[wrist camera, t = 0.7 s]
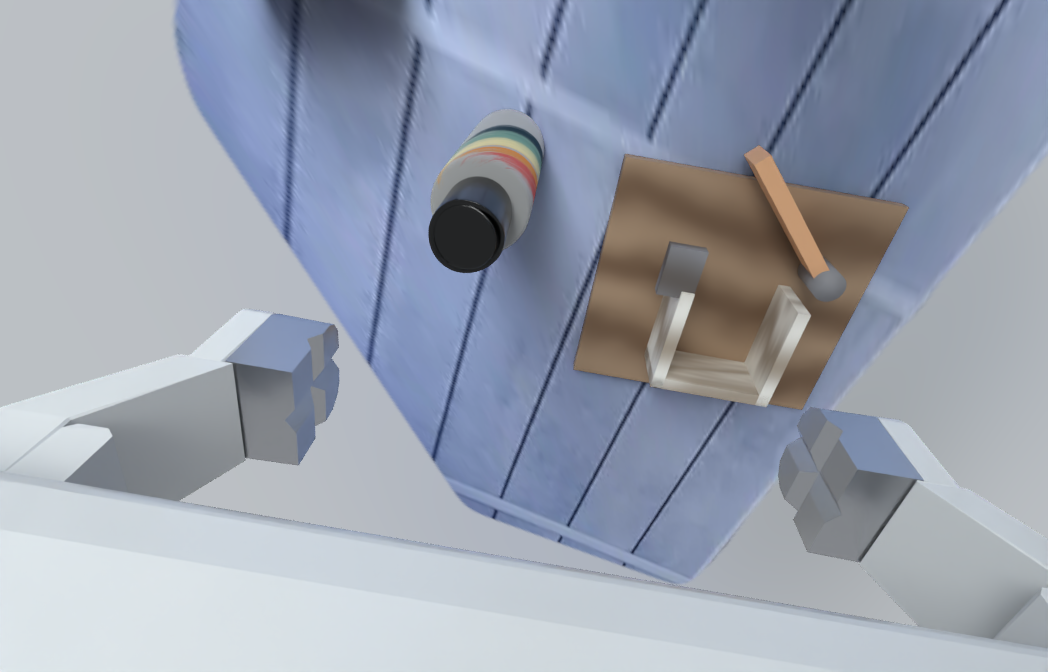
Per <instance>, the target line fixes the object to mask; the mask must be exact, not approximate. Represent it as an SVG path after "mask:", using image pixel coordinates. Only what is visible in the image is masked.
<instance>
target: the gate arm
mask: <svg viewBox="0 0 1048 672" xmlns="http://www.w3.org/2000/svg"><path fill="white" fill-rule="evenodd" d="M744 156H745V158H746V160H747V162H748V164H749V166H750V168H751V169H752V171H753V173H754V175H755V177H756V179H757V181H758V183H759V185H760V186H761V188H762V190H763V192H764V194H765V196H766V198H767V200H768V202H769V203H770V205H771V207H772V209H773V211H774V213H775V215H776V217H777V219H778V220H779V222H780V224H781V226H782V228H783V230H784V232H785V234H786V236H787V237H788V239H789V241H790V243H791V245H792V247H793V249H794V251H795V253H796V255H797V256H798V258H799V260H800V262H801V263H800V265H799V267H798V276H799V277H800V279H801V280H802V281H803V282H804V284H805V285H806V286H807V288H808V289H809V290H810V291H811V293H812V294H813V295H814V297H815V298H816V299H818V300H820V301H823V302H829V301H833V300H835V299H837V298H839V297H840V296H841V295H842V294H843V293H844V291H845V289H846V285H847V284H846V280H845V278H844V277H843V276H842V275H841V274H840V273H839V272H838V271H837V270H836V268H835V267H834V266H833V265H832V264H831V263H830V262H829V261H828V260H827V259H826V258H825V257H823V256H822V254H821V253H820V251H819V249H818V247H817V245H816V243H815V241H814V239H813V237H812V235H811V233H810V231H809V229H808V227H807V225H806V223H805V221H804V219H803V217H802V215H801V213H800V211H799V209H798V207H797V205H796V203H795V201H794V199H793V197H792V195H791V193H790V191H789V189H788V187H787V185H786V184H785V182H784V180H783V178H782V176H781V174H780V172H779V170H778V168H777V166H776V164H775V162H774V160H773V158H772V156H771V155H770V154H769V153H768V152H767V151H766V150H764V149H763V148H762V147H761V146H760V145H759V146H757V147H755V148H754V149H752V150H751V151H749V152H747V153H746V154H744Z"/></svg>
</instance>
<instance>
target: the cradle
mask: <svg viewBox="0 0 1048 672" xmlns="http://www.w3.org/2000/svg"><path fill="white" fill-rule="evenodd" d="M785 184H786V185H787V187H788V189H789V191H790V193H791V195H792V197H793V199H794V201H795V203H796V205H797V207H798V209H799V211H800V213H801V215H802V217H803V219H804V221H805V223H806V225H807V227H808V229H809V231H810V233H811V235H812V237H813V239H814V241H815V243H816V245H817V247H818V249H819V251H820V253H821V254H822V256H823V257H825V258H826V259H827V260H828V261H829V262H830V263H831V264H832V265H833V266H834V267H835V268H836V270H837V271H838V272H839V273H840V274H841V275H842V276H843V277H844V278H845V280H846V284H847V285H846V289H845V291H844V293H843V294H842V295H841V296H840V297H839V298H837V299H835V300H833V301H829V302H823V301H820V300H818V299H816V298H815V297H814V295H813V294H812V293H811V291H810V290H809V289H808V288H807V286H806V285H805V284H804V282H803V281H802V280H801V279H800V277H799V276H798V267H799V265H800V263H801V262H800V260H799V258H798V256H797V255H796V253H795V251H794V249H793V247H792V245H791V243H790V241H789V239H788V237H787V236H786V234H785V232H784V230H783V228H782V226H781V224H780V222H779V220H778V219H777V217H776V215H775V213H774V211H773V209H772V207H771V205H770V203H769V202H768V200H767V198H766V196H765V194H764V192H763V190H762V188H761V186H760V185H759V183H758V181H757V179H756V177H752V176H746V175H741V174H735V173H730V172H724V171H719V170H713V169H707V168H702V167H696V166H691V165H685V164H680V163H674V162H669V161H663V160H657V159H652V158H646V157H641V156H635V155H630V154H625V155H624V159H623V163H622V167H621V171H620V176H619V180H618V184H617V188H616V192H615V196H614V200H613V204H612V208H611V212H610V217H609V221H608V225H607V229H606V233H605V237H604V241H603V245H602V249H601V253H600V258H599V262H598V266H597V270H596V274H595V278H594V282H593V286H592V290H591V294H590V299H589V303H588V307H587V311H586V315H585V319H584V323H583V327H582V331H581V335H580V340H579V344H578V348H577V352H576V356H575V360H574V370H579V371H585V372H590V373H596V374H602V375H607V376H613V377H619V378H625V379H630V380H636V381H642V382H647V383H650V387H655V388H661V389H666V390H672V391H678V392H683V393H689V394H695V395H700V396H706V397H712V398H717V399H723V400H729V401H735V402H740V403H746V404H752V405H757V406H763V407H767V405H768V404H772V405H778V406H783V407H789V408H795V409H800V410H802V409H803V407H804V405H805V403H806V401H807V399H808V397H809V395H810V394H811V392H812V390H813V388H814V386H815V384H816V382H817V380H818V378H819V377H820V375H821V373H822V371H823V369H824V367H825V365H826V363H827V361H828V360H829V358H830V356H831V354H832V352H833V350H834V348H835V346H836V345H837V343H838V341H839V339H840V337H841V335H842V333H843V331H844V329H845V328H846V326H847V324H848V322H849V320H850V318H851V316H852V314H853V312H854V311H855V309H856V307H857V305H858V303H859V301H860V299H861V297H862V296H863V294H864V292H865V290H866V288H867V286H868V284H869V282H870V280H871V279H872V277H873V275H874V273H875V271H876V269H877V267H878V265H879V263H880V262H881V260H882V258H883V256H884V254H885V252H886V250H887V248H888V247H889V245H890V243H891V241H892V239H893V237H894V235H895V233H896V231H897V230H898V228H899V226H900V224H901V222H902V220H903V218H904V216H905V214H906V213H907V211H908V209H909V207H907V206H906V205H904V204H902V203H897V202H891V201H886V200H880V199H875V198H869V197H863V196H858V195H852V194H847V193H841V192H836V191H830V190H824V189H819V188H813V187H808V186H802V185H797V184H791V183H785Z"/></svg>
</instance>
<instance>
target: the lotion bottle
mask: <svg viewBox="0 0 1048 672" xmlns="http://www.w3.org/2000/svg"><path fill="white" fill-rule="evenodd" d="M543 156H544V141H543V137H542V134H541V131H540V129H539V127H538V126H537V124H536V123H535V122H534V121H533V120H532V119H531V118H530V117H529V116H527V115H526V114H524V113H522V112H520V111H517V110H512V109H503V110H498V111H495V112H493V113H491V114H489V115H487V116H486V117H485V118H483V119H482V120H481V121H480V122H479V124H478V125H477V126H476V127H475V128H474V130H473V131H472V132H471V134H470V135H469V136H468V137H467V139H466V140H465V141H464V142H463V144H462V145H461V146H460V148H459V149H458V150H457V151H456V153H455V154H454V155H453V156H452V158H451V159H450V160H449V162H448V163H447V164H446V165H445V167H444V168H443V169H442V171H441V172H440V174H439V175H438V177H437V179H436V181H435V183H434V186H433V189H432V194H431V210H432V215H433V216H432V219H431V221H430V225H429V243H430V246H431V249H432V251H433V253H434V255H435V257H436V258H437V259H438V260H439V262H440V263H442V264H443V265H444V266H445V267H447V268H449V269H451V270H453V271H456V272H461V273H472V272H477V271H480V270H483V269H485V268H487V267H488V266H490V265H491V264H492V263H494V262H495V261H496V260H497V258H498V257H499V256H500V254H501V252H502V250H504V249H506V248H508V247H509V246H511V245H512V244H513V243H515V242H516V241H517V240H518V239H519V238H520V236H521V235H522V234H523V232H524V231H525V229H526V227H527V224H528V222H529V219H530V215H531V211H532V207H533V202H534V198H535V193H536V189H537V184H538V180H539V175H540V171H541V166H542V162H543Z"/></svg>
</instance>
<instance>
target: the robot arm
mask: <svg viewBox="0 0 1048 672" xmlns="http://www.w3.org/2000/svg"><path fill="white" fill-rule="evenodd" d="M338 348H339V344H338V330H337V328H336V327H335V325H334V324H329V323H324V322H319V321H313V320H308V319H303V318H298V317H293V316H287V315H282V314H275V313H273V312H266V311H260V310H253V309H242V310H240V311H239V312H238V313H237V314H236V315H235V316H233V317H232V318H231V319H230V320H229V321H228V322H227V323H226V324H224V325H223V326H222V327H221V328H220V329H219V330H218V331H216V332H215V333H214V334H213V335H212V336H211V337H210V338H208V339H207V340H206V341H205V342H204V343H203V344H202V345H201V346H199V347H198V348H197V349H196V350H195V351H194V352H193V353H191V354H190V355H189V356H187V355H181V354H178V355H174V356H171V357H168V358H164V359H161V360H158V361H154V362H151V363H148V364H144V365H141V366H137V367H135V368H131V369H128V370H124V371H121V372H117V373H114V374H111V375H107V376H104V377H100V378H97V379H94V380H90V381H87V382H84V383H80V384H77V385H73V386H70V387H67V388H64V389H60V390H57V391H53V392H50V393H47V394H43V395H40V396H36V397H33V398H30V399H27V400H23V401H20V402H17V403H13V404H10V405H6V406H3V407H0V672H1048V539H1047V538H1046V537H1044V536H1043V535H1041V534H1040V533H1038V532H1036V531H1035V530H1033V529H1032V528H1030V527H1028V526H1027V525H1025V524H1024V523H1022V522H1020V521H1019V520H1017V519H1016V518H1014V517H1013V516H1010V515H1009V514H1008V513H1006V512H1004V511H1003V510H1002V509H1000V508H998V507H997V506H995V505H994V504H992V503H990V502H989V501H987V500H986V499H984V498H982V497H981V496H979V495H978V494H976V493H974V492H973V491H972V490H970V489H965V488H960V487H959V486H958V484H957V483H956V482H955V481H954V480H953V478H952V477H951V476H950V475H949V473H948V472H947V471H946V470H945V468H944V467H943V466H942V465H941V464H940V462H939V461H938V460H937V459H936V457H935V456H934V455H933V454H932V453H931V451H930V450H929V449H928V448H927V446H926V445H925V444H924V443H923V441H922V440H921V439H920V438H919V437H918V435H917V434H916V433H915V432H914V430H913V429H912V428H911V427H910V425H908V424H907V423H905V422H903V421H901V420H897V419H890V418H882V417H874V416H866V415H860V414H853V413H845V412H839V411H832V410H825V409H819V408H812V407H810V408H809V409H808V410H807V411H806V412H805V413H804V414H803V415H802V417H801V419H800V421H799V423H798V425H797V427H798V430H799V433H800V436H801V437H800V438H799V439H797V440H795V441H794V442H792V443H790V444H789V445H787V446H786V449H785V451H784V453H783V455H782V457H781V460H780V465H779V474H778V478H779V485H780V489H781V491H782V494H783V496H784V499H785V500H786V501H787V502H788V503H790V504H791V505H792V506H793V507H794V508H795V509H796V510H798V512H797V514H796V516H795V517H794V519H793V520H794V522H795V524H796V527H797V529H798V531H799V534H800V536H801V538H802V540H803V543H804V545H805V547H806V550H807V552H810V553H815V554H820V555H825V556H830V557H836V558H841V559H846V560H851V561H855V562H860V564H859V565H860V566H861V567H862V568H863V569H864V570H865V571H866V572H867V573H868V575H869V576H870V577H871V578H872V579H873V580H875V582H876V583H877V584H878V585H879V586H880V587H881V588H882V589H883V590H884V591H885V592H886V593H887V594H888V595H889V596H890V597H891V598H892V599H893V600H894V601H895V602H896V603H897V605H898V606H899V607H901V609H902V610H903V611H904V612H905V613H906V614H907V615H908V616H909V617H910V618H911V619H912V620H913V621H914V622H915V623H916V624H917V625H918V626H919V627H918V626H912V625H906V624H900V623H894V622H888V621H882V620H877V619H870V618H865V617H859V616H853V615H847V614H841V613H836V612H829V611H824V610H817V609H812V608H806V607H800V606H794V605H788V604H783V603H776V602H771V601H765V600H759V599H753V598H747V597H742V596H736V595H729V594H724V593H718V592H712V591H706V590H700V589H695V588H689V587H683V586H677V585H671V584H665V583H659V582H653V581H647V580H641V579H635V578H629V577H623V576H617V575H611V574H605V573H600V572H593V571H588V570H582V569H576V568H569V567H563V566H558V565H551V564H546V563H540V562H534V561H528V560H522V559H516V558H509V557H504V556H498V555H493V554H486V553H481V552H475V551H469V550H463V549H457V548H451V547H445V546H439V545H434V544H428V543H422V542H416V541H410V540H404V539H398V538H392V537H386V536H381V535H375V534H368V533H363V532H357V531H351V530H345V529H339V528H333V527H327V526H322V525H316V524H310V523H304V522H298V521H292V520H286V519H281V518H275V517H269V516H262V515H256V514H251V513H245V512H239V511H233V510H228V509H221V508H216V507H210V506H204V505H198V504H192V503H186V502H180V500H181V499H183V498H185V497H186V496H188V495H189V494H191V493H193V492H194V491H196V490H198V489H199V488H201V487H202V486H204V485H206V484H208V483H209V482H211V481H212V480H214V479H216V478H217V477H219V476H221V475H222V474H224V473H226V472H227V471H229V470H231V469H232V468H234V467H236V466H237V465H239V464H240V463H242V462H244V461H245V458H250V459H257V460H264V461H271V462H278V463H285V464H292V465H299V464H300V462H301V461H302V459H303V457H304V456H305V454H306V452H307V451H308V449H309V447H310V446H311V444H312V443H313V441H314V440H315V426H316V425H318V424H320V423H323V422H325V421H326V420H327V418H328V417H329V415H330V413H331V411H332V410H333V407H334V403H335V400H336V397H337V393H338V387H339V368H338V367H337V365H336V364H335V363H334V361H333V360H332V359H331V358H332V356H333V355H334V353H335V352H336V351H337V349H338Z"/></svg>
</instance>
